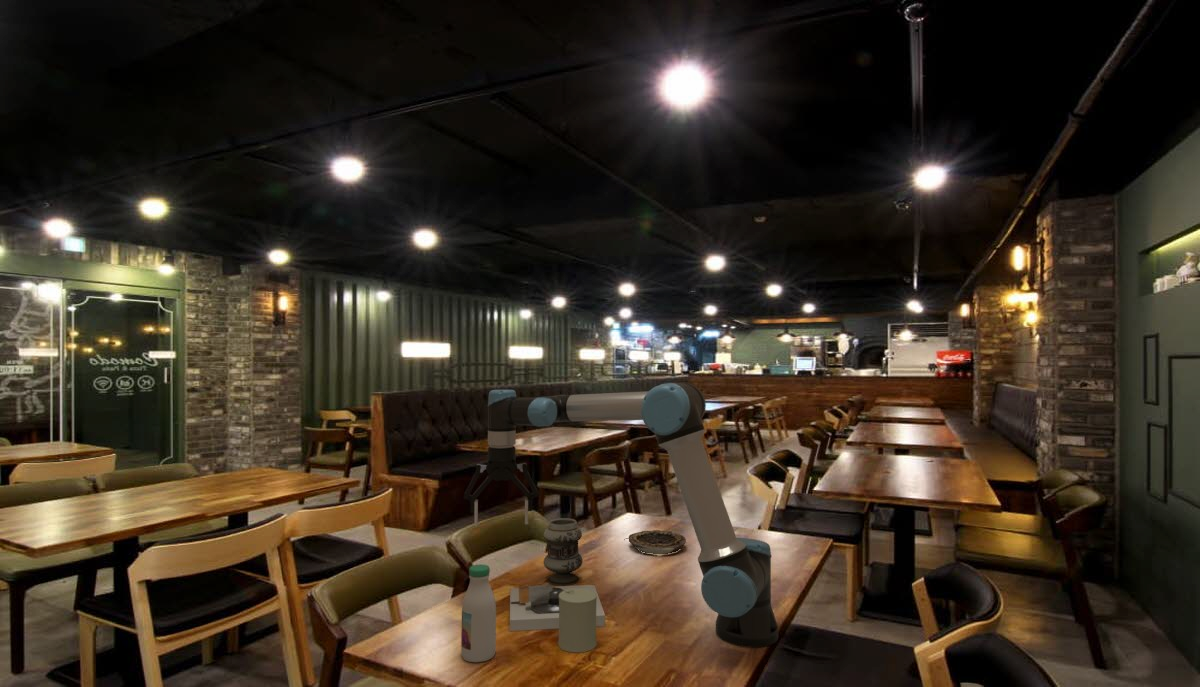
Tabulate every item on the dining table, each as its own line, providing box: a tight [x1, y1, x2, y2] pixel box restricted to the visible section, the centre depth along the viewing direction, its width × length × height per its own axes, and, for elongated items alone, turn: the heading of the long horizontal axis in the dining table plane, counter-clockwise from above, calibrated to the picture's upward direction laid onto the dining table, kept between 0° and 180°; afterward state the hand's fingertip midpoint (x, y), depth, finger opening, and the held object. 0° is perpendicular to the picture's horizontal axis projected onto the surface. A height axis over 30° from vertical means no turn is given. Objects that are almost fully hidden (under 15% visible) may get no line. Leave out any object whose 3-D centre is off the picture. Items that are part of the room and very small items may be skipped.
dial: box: [518, 583, 563, 614], centre depth 168 cm, size 16×13×6 cm
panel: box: [509, 584, 606, 632], centre depth 168 cm, size 22×24×3 cm
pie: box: [625, 529, 687, 554], centre depth 226 cm, size 28×27×5 cm
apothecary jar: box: [543, 517, 583, 586], centre depth 193 cm, size 12×12×18 cm
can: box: [557, 588, 598, 654], centre depth 149 cm, size 9×9×12 cm
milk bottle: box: [460, 563, 497, 663], centre depth 143 cm, size 8×8×20 cm
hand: (501, 524), depth 171 cm, fingers open, 13 cm apart
